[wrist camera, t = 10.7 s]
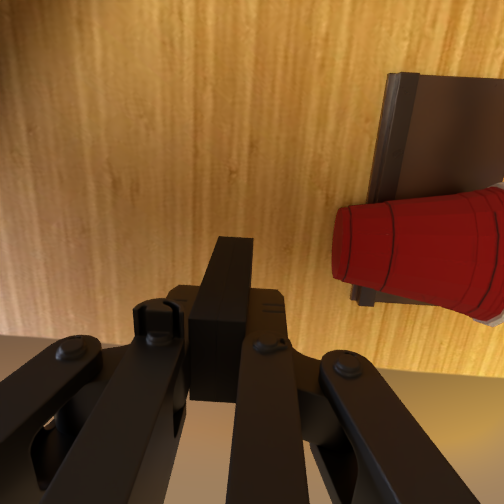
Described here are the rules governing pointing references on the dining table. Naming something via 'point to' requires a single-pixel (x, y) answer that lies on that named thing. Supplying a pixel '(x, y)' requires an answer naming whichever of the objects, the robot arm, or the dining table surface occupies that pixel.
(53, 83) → the dining table surface
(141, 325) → the robot arm
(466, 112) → the board
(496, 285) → the plastic cup
